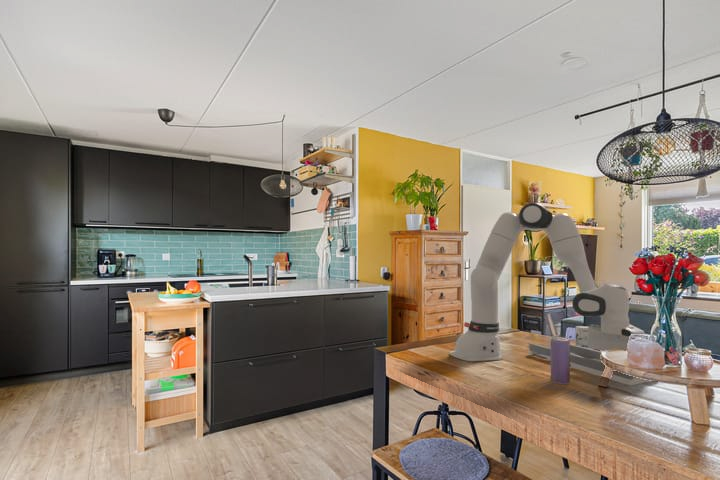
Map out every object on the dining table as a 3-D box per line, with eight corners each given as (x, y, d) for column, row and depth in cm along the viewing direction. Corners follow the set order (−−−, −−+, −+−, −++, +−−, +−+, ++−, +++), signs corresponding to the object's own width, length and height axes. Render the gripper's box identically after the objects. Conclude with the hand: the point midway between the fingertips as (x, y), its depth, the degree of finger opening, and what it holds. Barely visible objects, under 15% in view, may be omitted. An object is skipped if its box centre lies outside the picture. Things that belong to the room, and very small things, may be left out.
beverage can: (562, 385, 129) (562, 340, 130) (546, 380, 134) (546, 337, 135) (573, 383, 132) (573, 339, 132) (558, 378, 137) (557, 335, 138)
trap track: (630, 385, 130) (630, 367, 130) (529, 354, 168) (529, 341, 168) (658, 379, 137) (658, 362, 137) (554, 351, 175) (554, 338, 175)
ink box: (594, 352, 174) (594, 326, 175) (600, 355, 169) (600, 328, 170) (574, 351, 175) (574, 325, 175) (579, 354, 170) (579, 327, 171)
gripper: (583, 323, 151) (583, 359, 151) (638, 334, 133) (639, 374, 132) (593, 322, 154) (593, 357, 154) (649, 332, 135) (650, 372, 135)
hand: (615, 365), depth 143 cm, fingers closed
